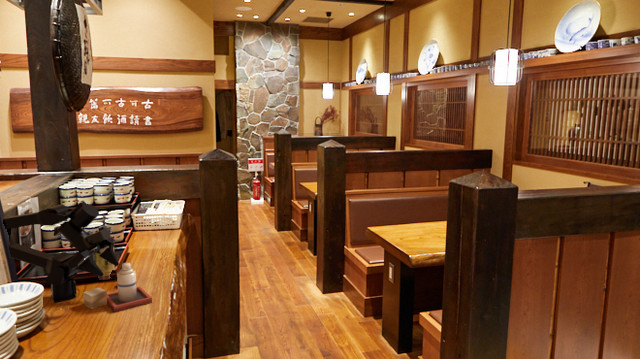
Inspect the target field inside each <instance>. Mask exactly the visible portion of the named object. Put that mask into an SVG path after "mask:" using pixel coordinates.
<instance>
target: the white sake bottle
mask: <svg viewBox="0 0 640 359" xmlns="http://www.w3.org/2000/svg"><path fill="white" fill-rule="evenodd" d="M136 272H137V271H136V270H135V269H133V267H131V263H130V262H123V263H122V264H121V268H120V269H119V271H117V273H116V274H117V275H116V277H117V283H116V284H117V292H118V300H119V301H120V302H129V301H133V300H135V299H136V298H137V293H136V287H137V274H136Z"/></svg>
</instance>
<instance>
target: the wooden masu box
mask: <svg viewBox="0 0 640 359" xmlns="http://www.w3.org/2000/svg"><path fill="white" fill-rule="evenodd" d="M82 294H83V305H84V306H86V307H87V308H89V309H92V310H94V309H97V308H99V307H102V306H105V305H108V303H107V294H108V291H107V290H105V289H103V288H101V287H95V288H93V289H89V290H87V291H83V293H82Z"/></svg>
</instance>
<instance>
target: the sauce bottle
mask: <svg viewBox="0 0 640 359" xmlns="http://www.w3.org/2000/svg"><path fill="white" fill-rule="evenodd" d="M102 226H103V225H101V226H98V230H99V228H100V227H102ZM105 226H106V227H108V228H109V229H110V230H111V231H112V228H111V226H110V225H105ZM113 251H114V252H115V246H114V247H113ZM99 255H100V254H98V253H95V264H96V265H97V266H98V267H99V268H100V269H101V271H102V272H103V274H104V275H103V276H102V277H101V276H98V278H99V281H107V280H111V279H112V278H111V277H110V274H111V272H112V270H114V269H115V267H116V266H115V265H113V264H111V263H110V262H108V261H106V260H105V259H103V258H102V257H100V256H99ZM115 270H116V269H115ZM110 278H111V279H110Z"/></svg>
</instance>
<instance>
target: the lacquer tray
mask: <svg viewBox="0 0 640 359" xmlns="http://www.w3.org/2000/svg"><path fill="white" fill-rule="evenodd" d="M136 293H137V298H136V299H135V300H133V301H129V302H120V301H119V300H118V291H116V292H111V293H107V305H108V306H109V307H110V308H111V310H112V311H113V312H114V313H118V312H121V311H122V312H123V311H125V310H130V309H133V308H136V307H141V306H145V305H149V304H152V303H153V297H152V296H151V295H149V293H147V291H145V289H143V287H141V286H136Z"/></svg>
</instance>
